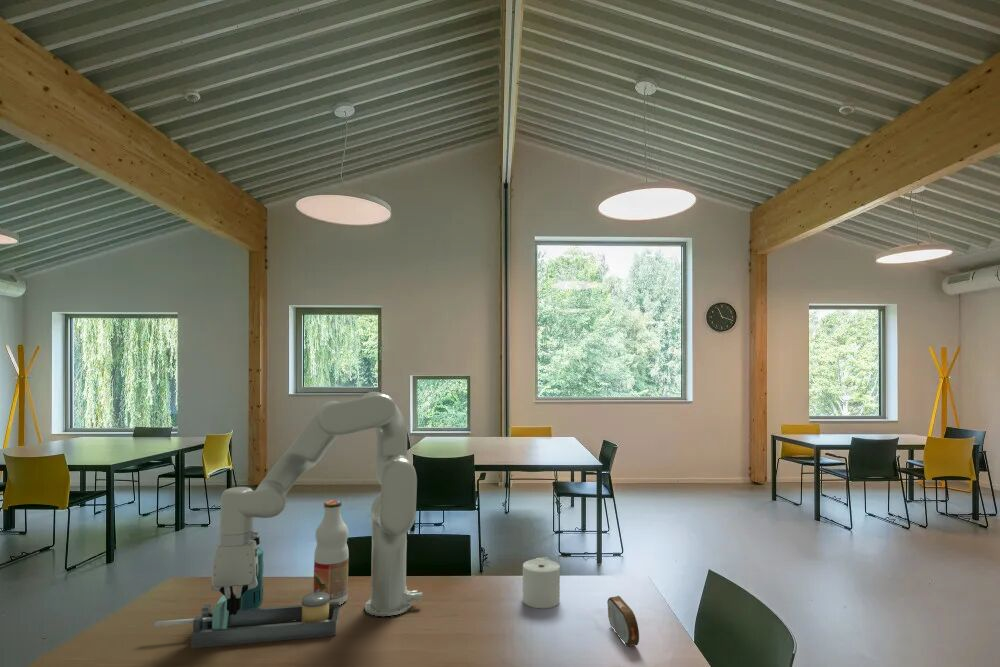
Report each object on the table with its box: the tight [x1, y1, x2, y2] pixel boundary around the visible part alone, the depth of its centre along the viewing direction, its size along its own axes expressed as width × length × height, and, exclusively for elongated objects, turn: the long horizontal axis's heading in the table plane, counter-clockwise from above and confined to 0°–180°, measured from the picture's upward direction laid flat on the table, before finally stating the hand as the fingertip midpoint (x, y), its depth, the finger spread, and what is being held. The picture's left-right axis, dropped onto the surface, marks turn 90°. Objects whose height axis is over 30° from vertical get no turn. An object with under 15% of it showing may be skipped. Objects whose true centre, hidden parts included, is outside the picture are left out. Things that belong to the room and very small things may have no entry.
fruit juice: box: [312, 499, 349, 606], centre depth 160 cm, size 9×9×28 cm
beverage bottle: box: [240, 536, 265, 610], centre depth 153 cm, size 6×7×20 cm
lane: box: [190, 602, 340, 649], centre depth 142 cm, size 33×11×6 cm, turn 102°
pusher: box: [153, 594, 229, 629], centre depth 138 cm, size 16×8×8 cm, turn 102°
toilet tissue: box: [522, 556, 561, 609], centre depth 161 cm, size 11×12×10 cm
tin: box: [607, 595, 640, 647], centre depth 140 cm, size 15×3×8 cm, turn 9°
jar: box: [301, 592, 330, 622], centre depth 144 cm, size 7×7×8 cm
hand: (233, 612), depth 140 cm, fingers closed
